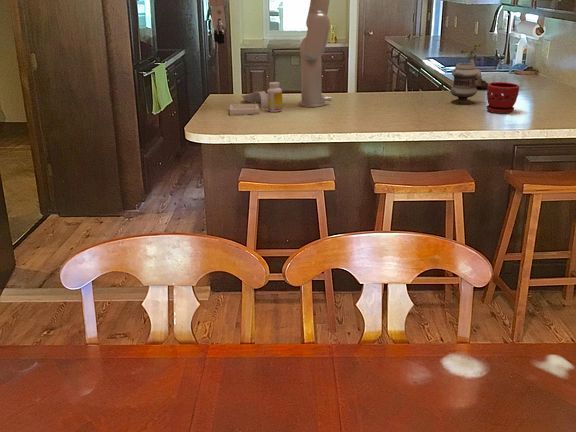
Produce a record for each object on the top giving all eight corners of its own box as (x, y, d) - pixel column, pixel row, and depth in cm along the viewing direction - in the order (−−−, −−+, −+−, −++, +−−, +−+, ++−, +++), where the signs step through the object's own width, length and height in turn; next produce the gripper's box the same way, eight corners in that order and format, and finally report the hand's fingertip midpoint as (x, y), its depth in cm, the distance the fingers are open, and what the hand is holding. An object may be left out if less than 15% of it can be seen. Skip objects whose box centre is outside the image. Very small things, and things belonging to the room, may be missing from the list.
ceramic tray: (258, 109, 286) (258, 103, 285) (259, 114, 274) (259, 108, 273) (230, 109, 285) (229, 104, 284) (229, 115, 273) (229, 109, 272)
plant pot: (484, 113, 267) (486, 85, 263) (486, 108, 278) (488, 81, 274) (516, 115, 262) (519, 87, 258) (516, 109, 274) (519, 82, 270)
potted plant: (460, 95, 324) (454, 47, 321) (456, 98, 342) (450, 53, 340) (500, 89, 320) (493, 40, 318) (493, 92, 339) (488, 46, 337)
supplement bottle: (284, 110, 282) (284, 81, 277) (278, 113, 276) (278, 84, 272) (271, 109, 285) (271, 81, 280) (265, 112, 279) (264, 83, 274)
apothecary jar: (447, 104, 288) (450, 65, 282) (451, 100, 299) (454, 62, 292) (474, 105, 284) (477, 65, 277) (477, 101, 294) (480, 62, 288)
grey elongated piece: (239, 101, 307) (238, 86, 304) (261, 99, 311) (261, 85, 308) (254, 109, 286) (254, 94, 284) (278, 107, 290) (278, 92, 288)
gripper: (228, 2, 265) (230, 43, 271) (222, 1, 281) (224, 40, 287) (211, 3, 263) (213, 44, 269) (206, 2, 279) (208, 41, 285)
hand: (219, 42), depth 278 cm, fingers open, 9 cm apart
